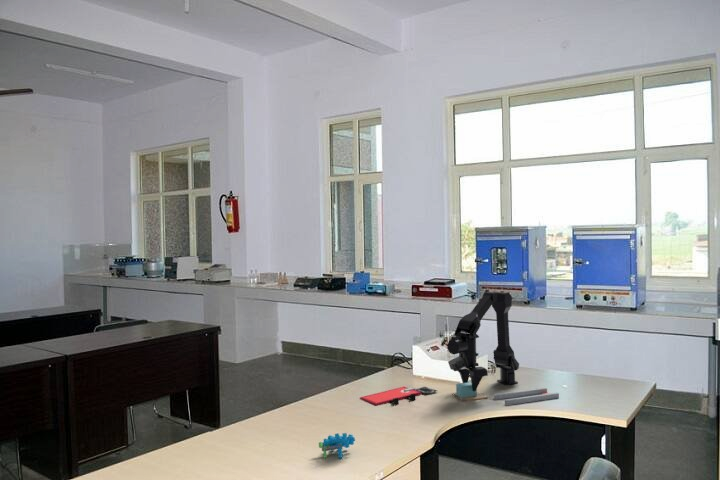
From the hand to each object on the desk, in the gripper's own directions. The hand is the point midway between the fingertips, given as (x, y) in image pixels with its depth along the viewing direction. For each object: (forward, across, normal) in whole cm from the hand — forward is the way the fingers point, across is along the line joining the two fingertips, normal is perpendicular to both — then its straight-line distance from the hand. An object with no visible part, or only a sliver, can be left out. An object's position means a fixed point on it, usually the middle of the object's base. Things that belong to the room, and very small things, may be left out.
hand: (469, 388), depth 220 cm
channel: (+3, +11, +19) cm, 22 cm away
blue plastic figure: (+3, +35, -66) cm, 74 cm away
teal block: (+2, 0, -1) cm, 3 cm away
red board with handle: (+4, -11, -25) cm, 28 cm away
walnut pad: (+3, 0, 0) cm, 3 cm away
